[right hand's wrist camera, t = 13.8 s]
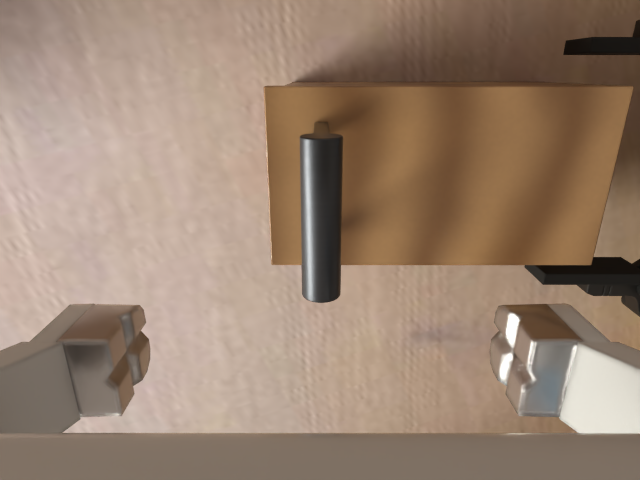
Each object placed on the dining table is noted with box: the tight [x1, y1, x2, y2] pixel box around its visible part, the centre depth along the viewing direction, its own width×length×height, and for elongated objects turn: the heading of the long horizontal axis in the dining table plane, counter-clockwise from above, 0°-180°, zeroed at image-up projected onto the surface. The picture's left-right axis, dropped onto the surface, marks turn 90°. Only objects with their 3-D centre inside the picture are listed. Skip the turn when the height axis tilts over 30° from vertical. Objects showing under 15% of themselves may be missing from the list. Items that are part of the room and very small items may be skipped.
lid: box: [264, 86, 634, 303], centre depth 21 cm, size 18×10×8 cm, turn 90°
